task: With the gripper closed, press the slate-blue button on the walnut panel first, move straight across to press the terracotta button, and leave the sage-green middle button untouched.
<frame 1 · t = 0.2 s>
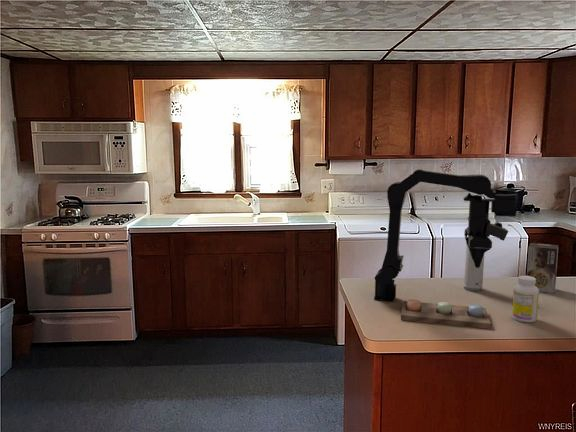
hand: (475, 263, 146), 14 cm above the countertop, fingers open, 9 cm apart
button panel: (443, 316, 141), on the countertop
supplement bottle: (524, 319, 139), on the countertop
slate button: (475, 310, 138), point 3 cm above the countertop, slide at 0.0 cm
travel mug: (473, 289, 167), on the countertop
coffee box: (540, 289, 166), on the countertop
sage button: (444, 307, 141), point 3 cm above the countertop, slide at 0.0 cm
terracotta button: (413, 305, 143), point 3 cm above the countertop, slide at 0.0 cm
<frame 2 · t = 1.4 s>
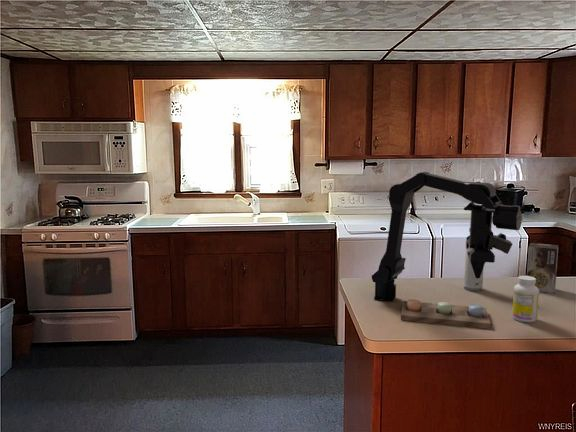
hand: (477, 278, 137), 13 cm above the countertop, fingers closed
nothing on the countertop moved.
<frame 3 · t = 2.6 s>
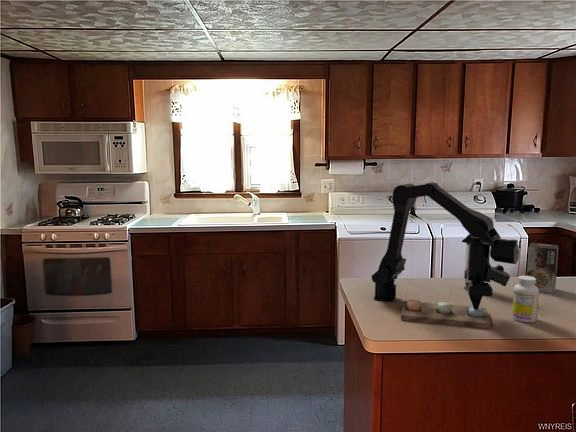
hand: (475, 309, 138), 3 cm above the countertop, fingers closed, pressing on slate button
slate button: (475, 312, 138), point 2 cm above the countertop, slide at 0.7 cm, touching gripper
everything else where it was.
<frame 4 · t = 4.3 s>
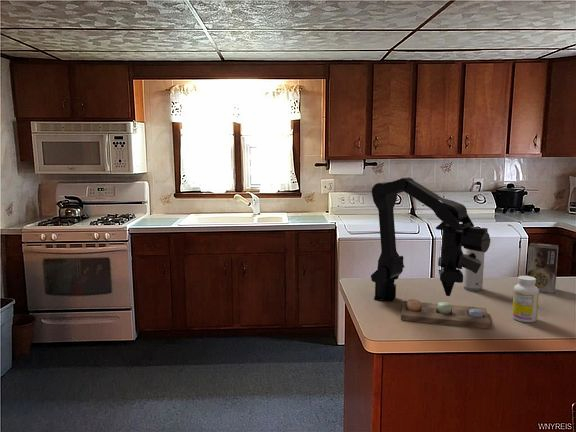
hand: (448, 295, 140), 7 cm above the countertop, fingers closed
slate button: (475, 314, 139), point 1 cm above the countertop, slide at 1.3 cm
everything else where it was.
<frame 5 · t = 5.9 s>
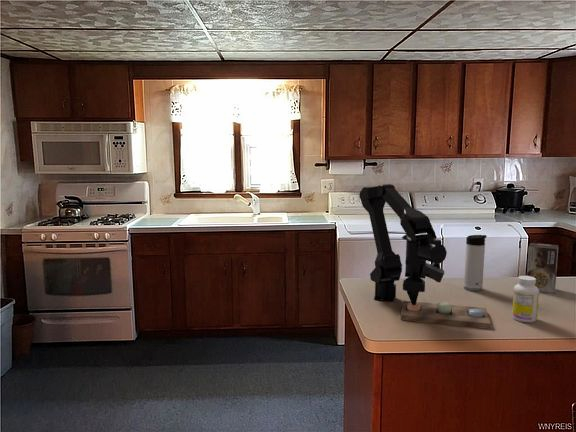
hand: (413, 304, 143), 3 cm above the countertop, fingers closed, pressing on terracotta button
terracotta button: (413, 308, 144), point 2 cm above the countertop, slide at 1.0 cm, touching gripper
everything else where it was.
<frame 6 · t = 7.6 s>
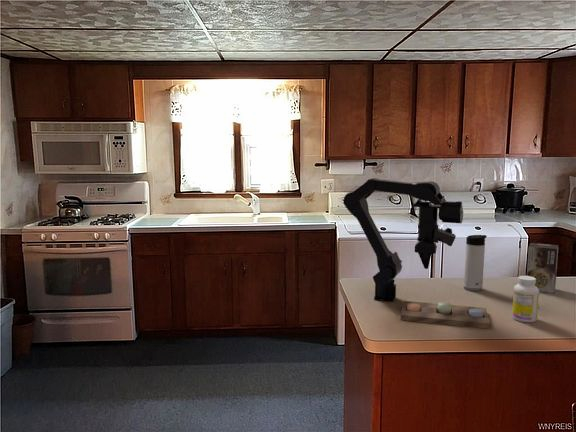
hand: (426, 268, 150), 12 cm above the countertop, fingers closed
terracotta button: (413, 309, 144), point 1 cm above the countertop, slide at 1.3 cm
everything else where it was.
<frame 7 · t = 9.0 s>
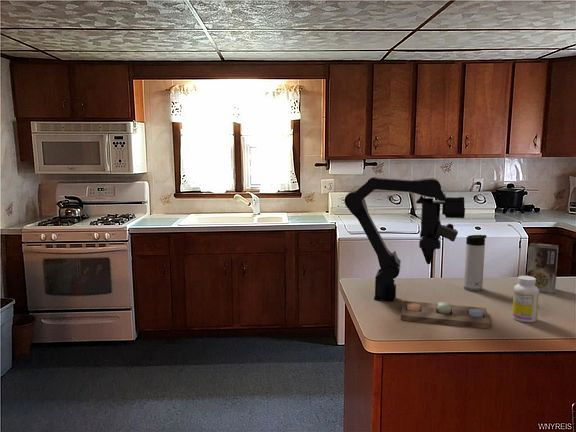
hand: (428, 263, 152), 13 cm above the countertop, fingers closed
nothing on the countertop moved.
at the end: slate button slide at 1.3 cm; terracotta button slide at 1.3 cm; sage button slide at 0.0 cm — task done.
